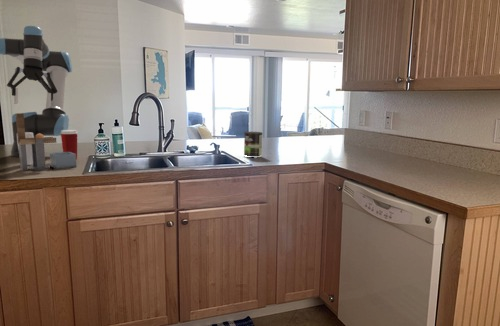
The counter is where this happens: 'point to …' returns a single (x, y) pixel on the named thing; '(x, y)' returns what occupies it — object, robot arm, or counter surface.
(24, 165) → the post
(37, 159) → the pivot stand
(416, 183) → the counter surface
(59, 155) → the grey rounded block
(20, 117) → the lever
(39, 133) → the ball
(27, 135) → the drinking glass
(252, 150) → the coffee can
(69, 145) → the coffee cup
